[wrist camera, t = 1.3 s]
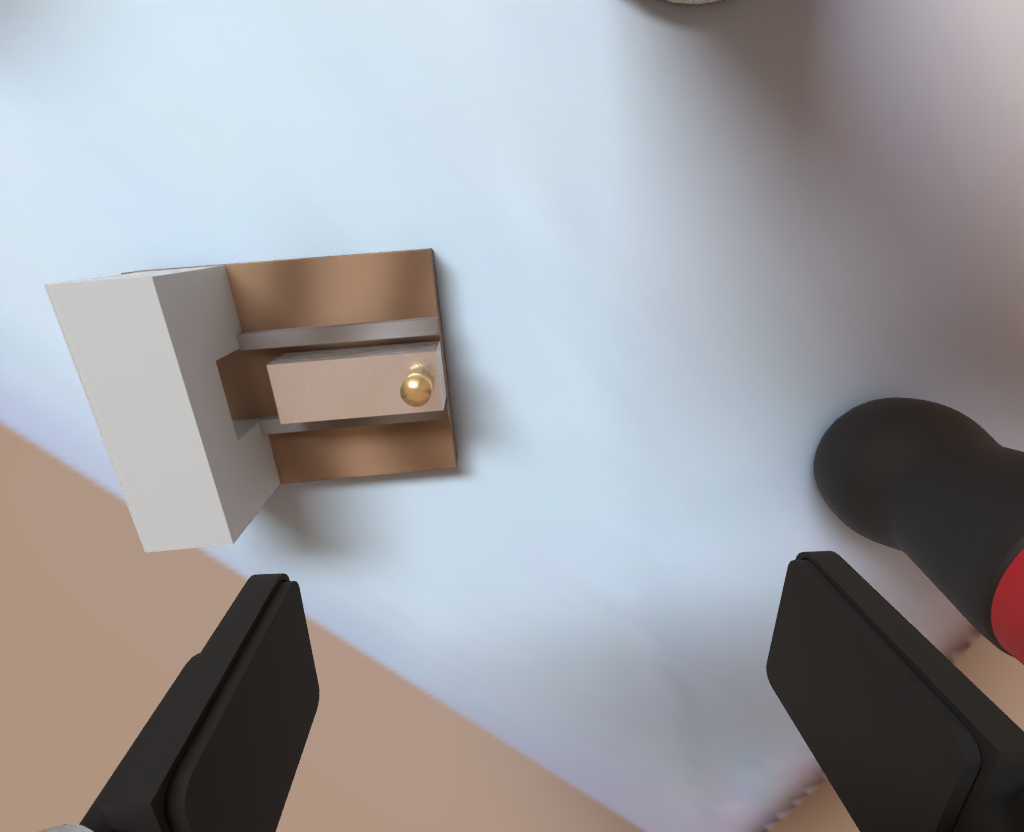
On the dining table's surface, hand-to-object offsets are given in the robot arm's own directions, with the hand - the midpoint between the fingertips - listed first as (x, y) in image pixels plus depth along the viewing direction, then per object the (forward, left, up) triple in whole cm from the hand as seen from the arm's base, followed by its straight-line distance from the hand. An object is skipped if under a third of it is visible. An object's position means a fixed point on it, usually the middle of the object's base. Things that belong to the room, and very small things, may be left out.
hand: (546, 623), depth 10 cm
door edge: (+15, 0, -19) cm, 25 cm away
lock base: (+11, 0, -21) cm, 23 cm away
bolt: (+7, 0, -19) cm, 20 cm away
